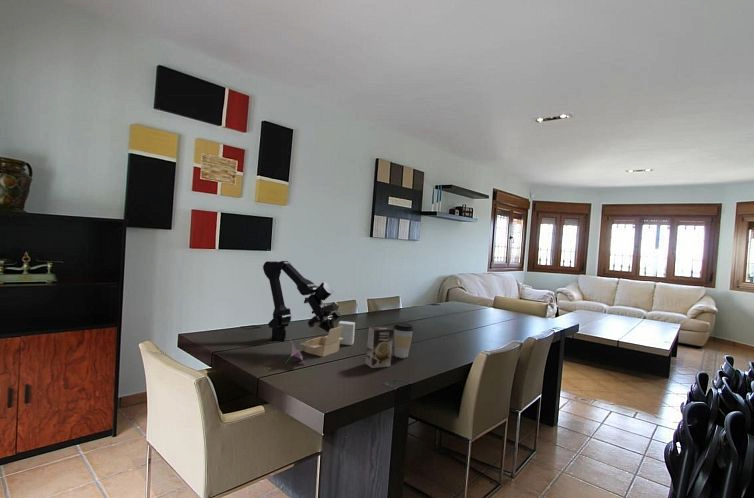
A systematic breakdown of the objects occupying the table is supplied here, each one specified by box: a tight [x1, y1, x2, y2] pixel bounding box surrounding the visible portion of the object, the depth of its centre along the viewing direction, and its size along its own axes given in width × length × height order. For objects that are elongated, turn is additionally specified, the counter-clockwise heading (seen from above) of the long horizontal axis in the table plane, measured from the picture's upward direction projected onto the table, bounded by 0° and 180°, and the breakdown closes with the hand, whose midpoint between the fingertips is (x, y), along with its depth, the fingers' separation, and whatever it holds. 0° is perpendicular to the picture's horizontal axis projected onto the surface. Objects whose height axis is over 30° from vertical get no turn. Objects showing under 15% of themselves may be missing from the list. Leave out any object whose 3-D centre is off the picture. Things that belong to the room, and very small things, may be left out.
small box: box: [337, 320, 356, 346], centre depth 200 cm, size 8×6×10 cm
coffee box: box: [365, 326, 395, 369], centre depth 170 cm, size 9×6×16 cm
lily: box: [285, 337, 305, 365], centre depth 163 cm, size 12×12×10 cm
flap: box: [325, 326, 343, 345], centre depth 180 cm, size 8×10×1 cm
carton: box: [300, 335, 344, 358], centre depth 183 cm, size 11×22×5 cm, turn 151°
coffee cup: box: [393, 322, 414, 359], centre depth 186 cm, size 9×9×15 cm
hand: (334, 335), depth 180 cm, fingers closed, pressing on flap
